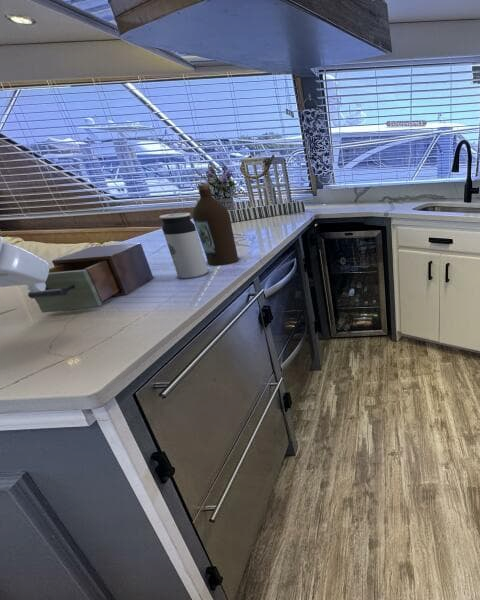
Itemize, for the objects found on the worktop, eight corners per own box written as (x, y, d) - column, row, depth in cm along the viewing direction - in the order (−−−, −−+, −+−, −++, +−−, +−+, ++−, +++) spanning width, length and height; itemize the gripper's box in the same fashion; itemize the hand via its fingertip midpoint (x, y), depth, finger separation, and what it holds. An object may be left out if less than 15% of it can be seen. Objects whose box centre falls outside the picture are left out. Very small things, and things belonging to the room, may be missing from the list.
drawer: (86, 314, 71) (69, 277, 68) (26, 321, 69) (4, 282, 66) (130, 286, 87) (118, 255, 84) (82, 291, 85) (67, 259, 82)
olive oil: (228, 255, 118) (209, 183, 108) (246, 259, 113) (229, 183, 103) (199, 263, 109) (176, 186, 99) (218, 267, 104) (196, 186, 94)
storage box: (126, 294, 84) (110, 255, 80) (71, 300, 82) (51, 260, 78) (153, 277, 97) (140, 242, 93) (106, 281, 95) (91, 246, 91)
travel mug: (205, 268, 103) (188, 211, 96) (210, 274, 98) (193, 214, 91) (176, 274, 99) (156, 215, 92) (180, 280, 93) (159, 218, 86)
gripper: (-177, 280, 46) (-61, 313, 58) (-5, 265, 49) (69, 299, 62) (-158, 242, 48) (-50, 282, 61) (6, 231, 51) (75, 271, 64)
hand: (12, 291), depth 61 cm, fingers open, 8 cm apart
